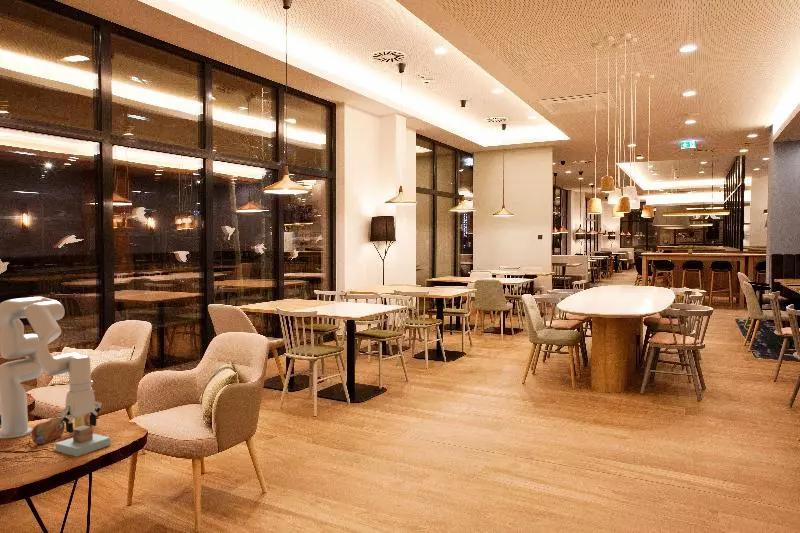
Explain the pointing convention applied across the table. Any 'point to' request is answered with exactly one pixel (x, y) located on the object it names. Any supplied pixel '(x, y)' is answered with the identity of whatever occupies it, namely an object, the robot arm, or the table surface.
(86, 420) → the candy box
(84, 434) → the walnut block
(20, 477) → the table surface
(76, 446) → the plinth
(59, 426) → the tin
